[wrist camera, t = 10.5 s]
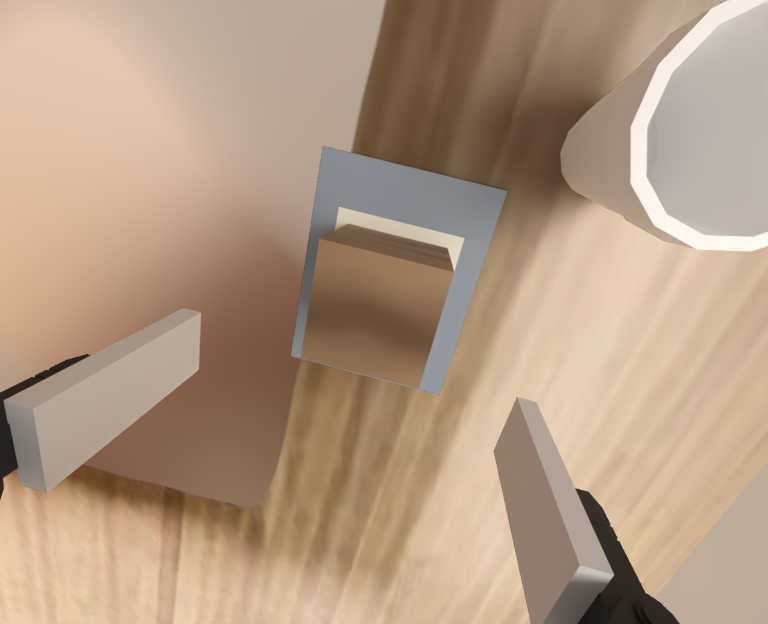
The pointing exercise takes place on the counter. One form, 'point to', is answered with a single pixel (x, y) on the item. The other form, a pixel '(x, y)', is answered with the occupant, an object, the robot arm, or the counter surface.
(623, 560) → the robot arm
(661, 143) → the foam cup
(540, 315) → the counter surface
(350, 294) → the walnut cube
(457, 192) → the blue flat board
